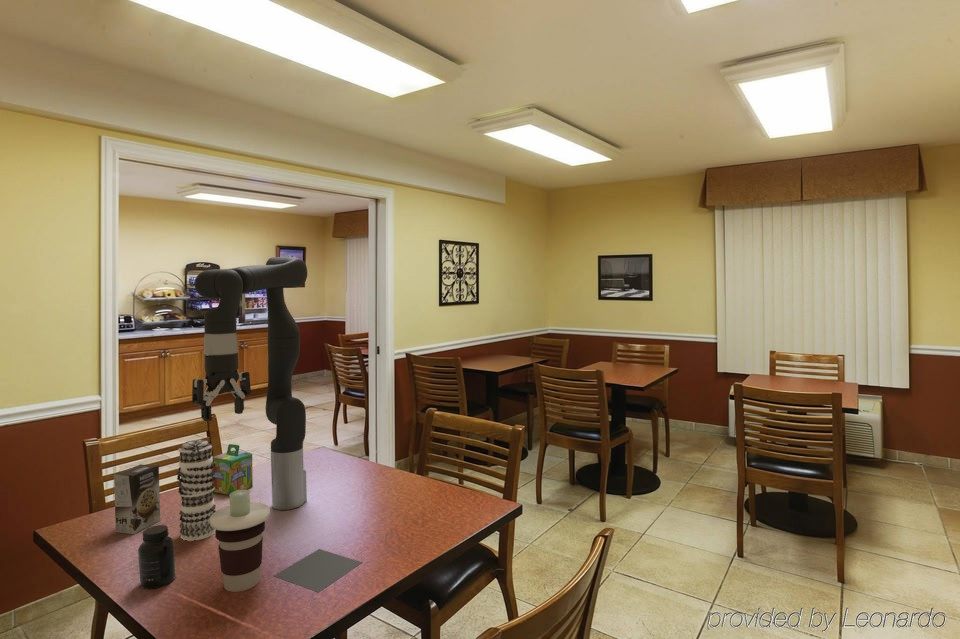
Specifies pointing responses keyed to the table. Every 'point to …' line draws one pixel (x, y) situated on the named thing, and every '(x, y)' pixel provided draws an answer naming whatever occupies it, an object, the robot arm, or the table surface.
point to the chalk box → (232, 471)
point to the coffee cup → (241, 557)
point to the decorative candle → (196, 489)
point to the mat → (318, 570)
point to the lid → (239, 513)
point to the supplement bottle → (156, 558)
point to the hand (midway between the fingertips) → (223, 417)
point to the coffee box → (137, 498)
